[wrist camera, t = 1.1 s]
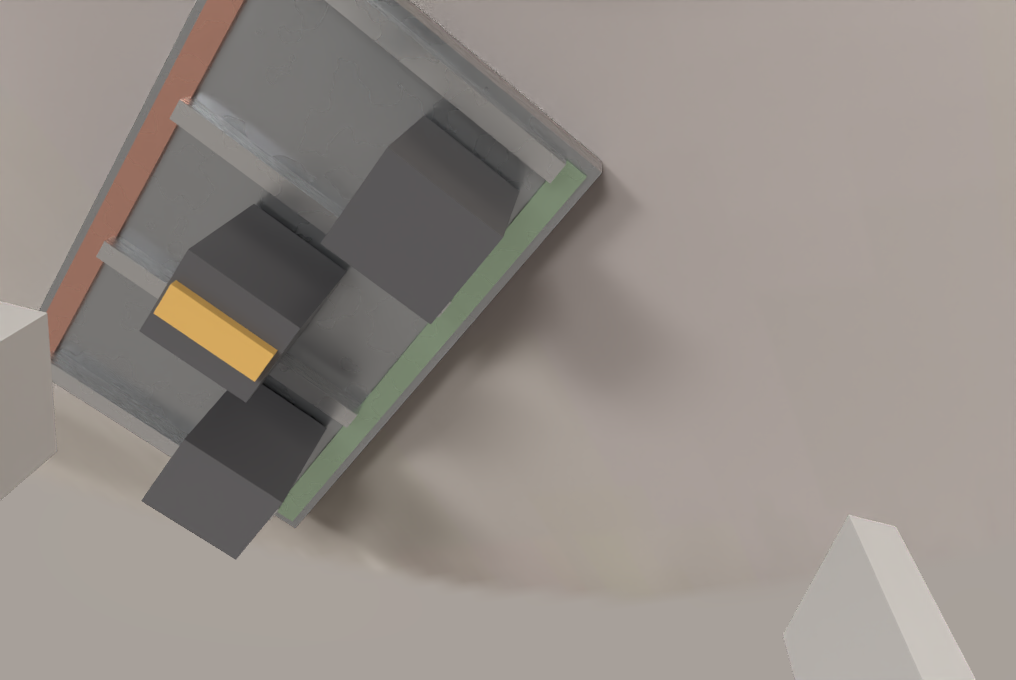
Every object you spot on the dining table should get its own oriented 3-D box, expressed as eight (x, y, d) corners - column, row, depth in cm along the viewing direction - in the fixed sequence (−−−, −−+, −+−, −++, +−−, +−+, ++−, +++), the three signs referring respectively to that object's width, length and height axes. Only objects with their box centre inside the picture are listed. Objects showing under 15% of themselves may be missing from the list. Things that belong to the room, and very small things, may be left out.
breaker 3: (366, 197, 33) (320, 243, 27) (424, 115, 31) (387, 146, 26) (457, 267, 34) (430, 324, 28) (519, 191, 32) (503, 237, 27)
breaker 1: (208, 275, 35) (133, 335, 30) (254, 203, 33) (182, 253, 28) (298, 338, 36) (242, 408, 31) (346, 271, 34) (296, 332, 29)
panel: (44, 334, 41) (5, 360, 38) (276, -111, 30) (244, -118, 27) (307, 505, 44) (288, 540, 41) (602, 161, 33) (602, 178, 31)
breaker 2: (203, 428, 39) (141, 500, 34) (243, 371, 38) (184, 439, 32) (284, 480, 40) (235, 559, 35) (326, 428, 38) (282, 502, 33)
